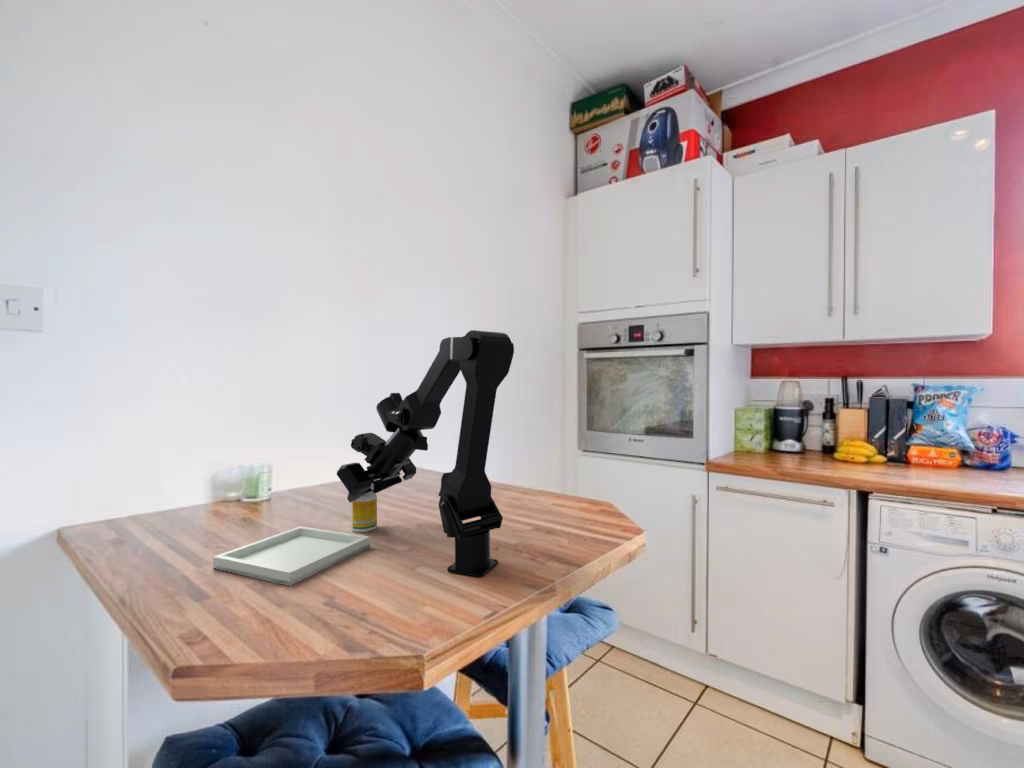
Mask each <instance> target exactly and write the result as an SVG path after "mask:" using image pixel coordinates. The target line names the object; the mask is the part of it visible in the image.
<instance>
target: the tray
mask: <svg viewBox="0 0 1024 768" xmlns="http://www.w3.org/2000/svg"><path fill="white" fill-rule="evenodd" d="M369 548H371V536H367V535H361V534H354V533H350V532H348V533H347V532H341V531H337V530H336V531H334V530H327V529H323V528H314V527H308V526H301V525H300V526H298V527H294V528H291V529H289V530H286V531H283V532H280V533H277V534H275V535H271V536H268V537H266V538H262V539H260V540H257V541H255V542H251V543H249V544H247V545H243V546H240V547H238V548H237V547H236V548H235V549H232V550H229V551H226V552H222V553H220V554H217V555H214V556H213V558H212V565H213V566H212V569H213V568H216V569H215V570H217V569H219V571H222V570H224V571H223V572H226V571H228V572H227V573H231V572H232V573H231V574H235V573H236V575H240V576H244V577H245V576H246V577H248V576H249V578H252V579H253V578H254V579H258V580H263V581H268V582H271V583H275V584H281V585H285V586H292V585H294V584H296V583H298V582H300V581H303V580H305V579H307V578H309V577H311V576H313V575H315V574H317V573H319V572H321V571H323V570H326V569H328V568H330V567H331V566H334V565H336V564H338V563H340V562H342V561H344V560H346V559H349V558H350V557H353V556H354V555H357V554H360V553H361V552H364V551H366V550H367V549H369Z"/></svg>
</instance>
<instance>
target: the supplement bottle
mask: <svg viewBox="0 0 1024 768" xmlns="http://www.w3.org/2000/svg"><path fill="white" fill-rule="evenodd" d="M370 488H371V489H372V491H373V489H374V486H373V484H372V485H371V487H370ZM372 491H371V492H370V493H368V494H366V495H364V496H362V497H360V498H358V499H356V500H354V501H352V502H350V529H351V531H352V532H355V533H366V532H370V531H374V530H375V529H377V527H378V506H377V503H378V502H377V501H378V497H377V493H376V494H375V493H374V492H372Z"/></svg>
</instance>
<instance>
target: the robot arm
mask: <svg viewBox="0 0 1024 768" xmlns="http://www.w3.org/2000/svg"><path fill="white" fill-rule="evenodd" d="M514 354H515V346H514V343H513V342H512V340H511V338H510V336H509V335H508V334H507V333H504V332H499V331H486V330H473V329H470V330H469V331H468V332H466V334H464V335H463V336H454V337H453V336H451V337H449V336H448V337H445V338H442V340H441V341H440V344H439V350H438V352H437V354H436V356H435V358H434V359H433V361H432V363H431V365H430V367H429V368H428V370H427V372H426V374H425V376H424V377H423V379H422V380H421V382H420V384H419V386H418V388H417V389H416V390H415V391H413V392H411V393H409V394H408V395H406V396H405V397H404V398H402V395H401V394H400V392H391V393H390V394H389V396H387V397H385V398H384V399H383V398H382V400H381V401H380V402H378V403H377V404H376V411H377V413H378V416H379V418H380V420H381V422H382V424H383V426H384V429H385V431H386V432H388V433H392V434H391V436H390V437H389V438H388V439H386V440H385V439H383V438H382V437H381V436H379V435H377V434H375V433H373V432H366V433H365V432H364V433H360V434H357V435H355V436H354V437H353V439H351V440H350V441H351V443H350V446H351V449H352V450H354V451H355V452H357V453H361V454H363V455H364V456H365V458H364V460H365V462H366V463H367V464H369V465H368V466H366V470H365V468H364V467H363V466H362V465H361V463H360V462H352V463H351V462H350V463H346V464H342V465H341V466H340V467H339V468H338V470H337V471H336V475H337V477H338V479H339V480H340V481H341V483H342V484H343V485H344V487H345V489H346V490H347V491H348V494H347V501H348V503H351V502H352V501H354V500H356V499H358V498H360V497H362V496H364V495H366V494H368V493H370V492H371V491H372V489H371V488H370V487H371V485H372V484H373V486H374V489H373V491H372V492H374V493H375V494H376V495H377V494H378V493H380V492H383V491H385V490H387V489H390V488H392V487H394V486H396V485H398V484H401V483H403V481H407V480H411V479H412V478H413V477H414V476H415V475H416V474H417V467H416V465H415V464H414V462H413V461H412V460H411V459H410V457H411V456H412V455H413V454H414V453H415V451H417V450H418V451H428V449H429V444H428V436H424V434H423V432H422V431H425V430H432V429H434V428H435V427H436V426H437V423H438V421H439V419H440V418H441V417H440V416H441V415H442V409H441V403H442V401H443V399H444V397H445V396H446V394H447V393H448V392H449V389H450V388H451V386H452V384H453V383H454V381H455V380H456V378H457V377H458V375H459V373H460V372H461V375H462V376H463V379H464V381H465V393H464V401H463V408H462V415H461V422H460V431H459V437H458V445H457V451H456V453H457V454H456V459H455V465H454V468H453V469H452V470H451V471H450V472H444V473H443V474H442V475H441V478H440V489H439V492H438V497H439V501H438V509H439V513H440V520H441V523H442V529H443V534H446V536H447V538H454V562H453V563H452V564H450V565H449V566H447V567H446V568H447V569H446V571H447V572H450V573H455V574H461V575H467V576H472V577H473V576H474V577H477V578H478V577H479V578H480V577H481V578H482V577H483V576H485V575H486V574H487V573H488V572H489V571H491V570H492V569H493V568H494V567H496V565H498V563H499V560H498V559H495V558H491V536H490V535H491V534H490V533H491V532H490V531H492V530H495V529H501V527H502V523H503V515H502V514H501V512H500V510H499V508H498V506H497V505H496V503H495V501H494V499H493V498H492V497H493V496H492V484H491V482H490V480H489V478H488V475H487V474H486V463H487V459H488V450H489V445H490V436H491V431H492V423H493V416H494V409H495V403H496V398H497V397H496V395H497V390H498V388H499V387H500V385H501V383H502V382H503V381H504V380H505V378H506V377H507V376H508V374H509V372H510V369H511V364H512V361H513V358H514ZM401 472H403V474H404V475H403V476H402V477H401V476H400V475H401ZM479 517H480V518H479ZM475 518H479V519H475ZM472 519H475V520H472ZM467 520H471V521H467ZM463 521H467V522H464V523H463Z"/></svg>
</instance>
